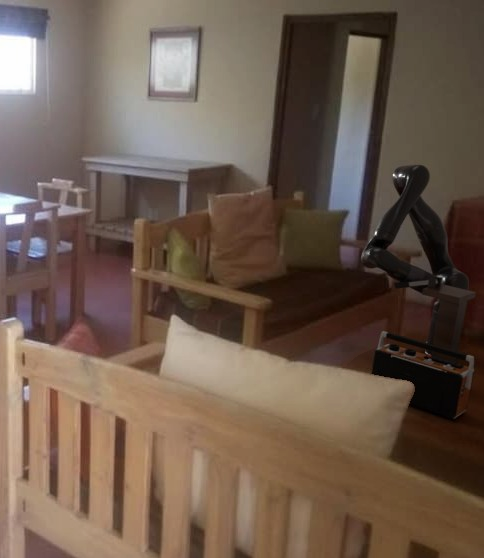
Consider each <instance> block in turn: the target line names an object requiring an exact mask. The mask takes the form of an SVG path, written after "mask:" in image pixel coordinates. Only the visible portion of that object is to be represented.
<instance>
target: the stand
mask: <svg viewBox="0 0 484 558" xmlns="http://www.w3.org/2000/svg"><path fill="white" fill-rule="evenodd" d="M436 279H438V283H436ZM441 283H442V278H441V277H437V276H436V277H435V279H432V278H429V282H428V287H427V288H424V289H423V291H422V293H421V295H422V296H427V297H430V298H435V299H438V300H439V299H441V301H440V306H439V312H438V317H437V323H436V328H435V334H434V339H433V345H435V346H439V347H442V348H446V349H449V350H453V351H456V352H459V348H460V347H459V346H460V342H461V336H462V331H463V326H464V320H465V315H466V311H467V307H468V306H467V305H468V301H470V300H473V299H475V298H476V294H477V291H472V290H469V289H468V290H465V289H460V288H456V287H452V286H448V285H443V284H441ZM431 356H434V357H438V358H441V359H444V360H448V361H451V362H455V363H457V358H455V357H451V356H448V355H444V354H441V353H437V352H434V351H431Z"/></svg>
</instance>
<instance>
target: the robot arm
mask: <svg viewBox="0 0 484 558" xmlns="http://www.w3.org/2000/svg"><path fill="white" fill-rule="evenodd" d="M430 178H431V174H430V170H429V169H428V167H426V166H425V165H423V164H410V165H409V164H408V165H400V166H398V167H396V168H395V170H393V173H392V184H393V187H394V189H395V191H396V192H397V194H398V196H399V198H398V199H397V200H396V201H395V202H394V203H393V205H391V206H390V208H389V209H388V210H387V211H386V212H384V214H383V215H382V217H381V218H380V220H379V222H378V224H377V226H376V229H375V231H374V233H373V235H372V237H371V238H370V240H369V241H368V242H367V244H366V246H365V247H364V249H363V250H362V253H361V256H360V261H361V264H362V265H363V267H365V268H367V269H370V270H371V269H376V268H378V269H379V270H381V271H383V272H385V273H386V275H387V276H388V277H390V278H391V279H392V280H395V281H397V282H403V281H422V280H429V278H432V279H435V277H436V276H437V277H441V278H442V283H441V284H443V285H448V286H452V287H456V288H460V289H465V290H469V288H470V280H469V277H468V276H467V275H466V274H465V273H464V272H462V271H460V270H458V269H457V267H456V266H455V265H454V263H453V261H452V259H451V256H450V254H449V250H448V249H449V248H448V246H449V245H448V243H449V242H448V241H449V240H448V234H447V230H446V228H445V226H444V223H443V221H442V219H441V216H440V215H439V214H438V213H437V212H436V211H435V210H434V209H433V208H432V207H431V205H429V204H428V203H427V202H426V201H425V199H423V197H422V194H423V193H424V192H425V190H426V188H427V186H428V184H429V183H430ZM407 216H408V217H409V218H410V219H409V220H410V221H411V223H412V225H413V228H414V231H415V234H416V237H417V239H418V241H419V243H420V245H421V248H422V250H423V252H424V254H425V256H426V258H427V260H428V263H429V266H430V270H431V272H429V271H426V269H423V268H420V267H419V266H417V265H413V264H411V263H409V262H407V261H405V260H403V259H400V258H399V257H397V256H396V255H395V254H393V253H392V252H391V251H390V250H388V248H389V247H390V246H391V245H392V244H393V243H394V241H395V240H396V238H397V235H398V233H399V232H400V229H401V228H402V225H403V224H404V221H405V219H407ZM427 287H428V285H418V286H412V287H409V288H410V289H412V290H414V291H416V292H417V293H419V294H422V291H423V289H424V288H427ZM440 301H441V299H438V300H437V301H435V302H434V303H433V307H432V312H431V317H430V322H429V323H430V324H429V329H428V334H427V339H426V342H425V343H428V344H432V345H433V339H434V334H435V328H436V323H437V317H438V312H439V306H440ZM424 354H426V355H431V351H430V350H427V349H424Z"/></svg>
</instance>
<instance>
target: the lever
mask: <svg viewBox="0 0 484 558" xmlns="http://www.w3.org/2000/svg"><path fill="white" fill-rule="evenodd" d="M428 282H429V280H422V281H403V282H399V281H397V282H394V289H395V290H396V289H405V288H410V287H412V286H418V285H428ZM436 283H438V279H436Z"/></svg>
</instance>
